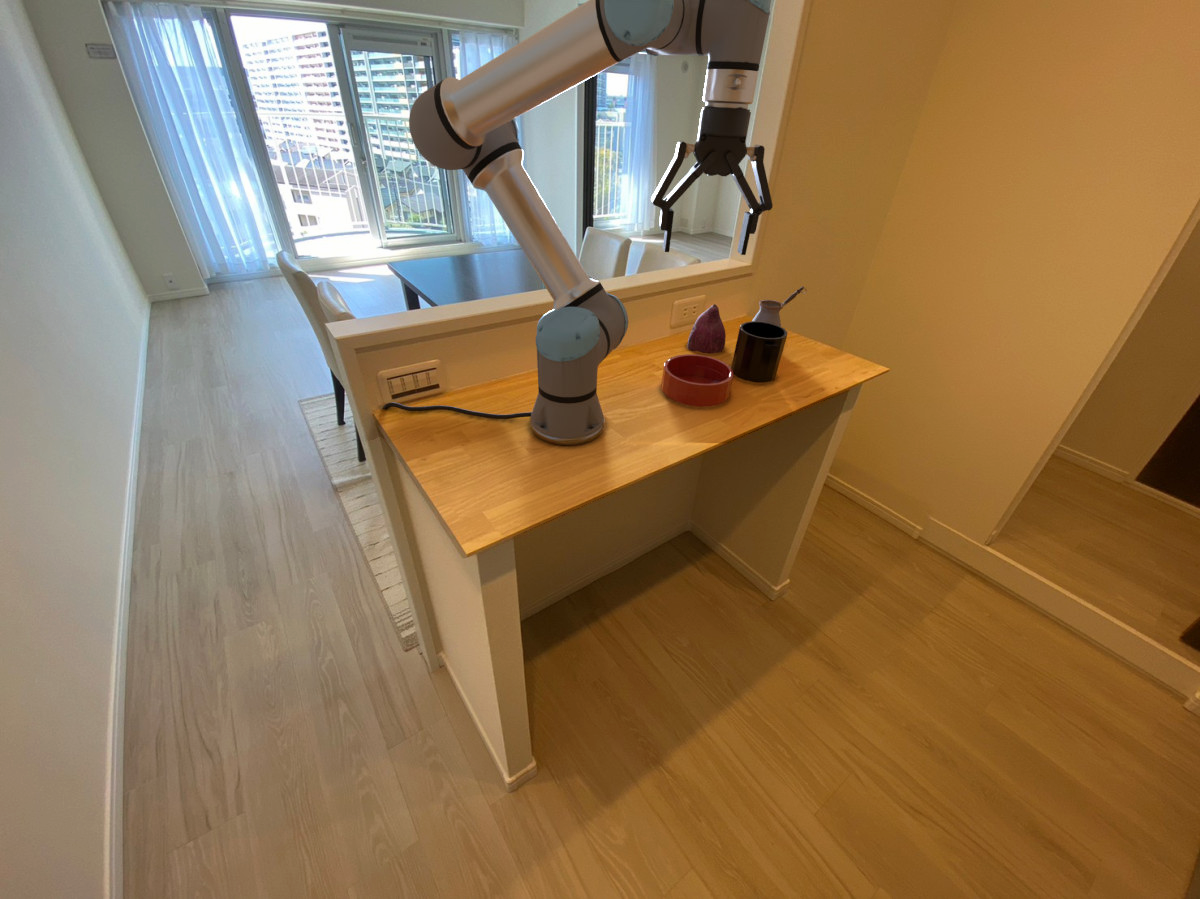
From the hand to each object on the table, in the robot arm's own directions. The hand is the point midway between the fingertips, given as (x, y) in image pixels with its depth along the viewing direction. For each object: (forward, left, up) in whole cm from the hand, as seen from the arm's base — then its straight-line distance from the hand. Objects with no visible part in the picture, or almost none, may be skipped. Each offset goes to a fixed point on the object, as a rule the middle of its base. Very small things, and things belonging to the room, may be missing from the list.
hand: (703, 251), depth 87 cm
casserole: (+6, +12, -35) cm, 37 cm away
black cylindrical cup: (+23, +22, -35) cm, 47 cm away
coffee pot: (+34, +42, -35) cm, 64 cm away
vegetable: (+14, +38, -35) cm, 53 cm away
